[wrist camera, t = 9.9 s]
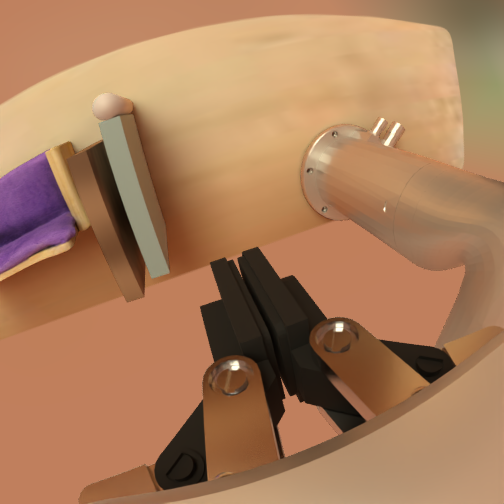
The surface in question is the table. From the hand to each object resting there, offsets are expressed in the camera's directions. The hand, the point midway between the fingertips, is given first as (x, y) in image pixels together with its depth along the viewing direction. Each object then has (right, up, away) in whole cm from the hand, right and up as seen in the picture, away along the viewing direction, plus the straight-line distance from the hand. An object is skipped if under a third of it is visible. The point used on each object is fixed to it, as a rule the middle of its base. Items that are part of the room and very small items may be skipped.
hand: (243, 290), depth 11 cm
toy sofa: (-27, +6, +18) cm, 33 cm away
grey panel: (-12, +10, +20) cm, 25 cm away
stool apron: (-14, +8, +21) cm, 26 cm away
